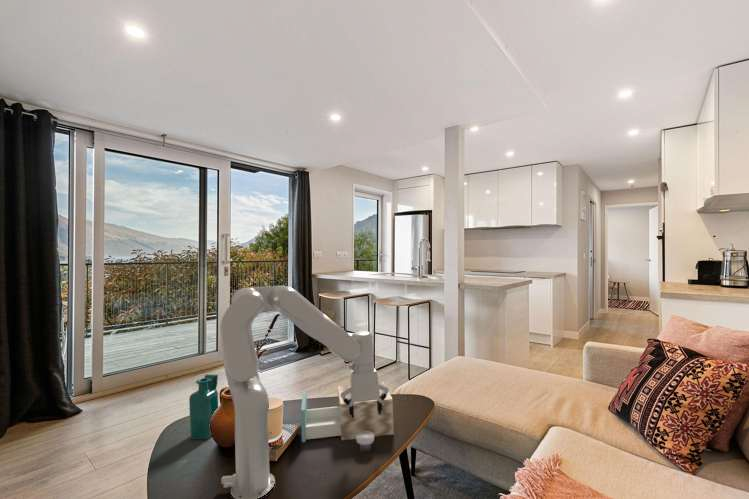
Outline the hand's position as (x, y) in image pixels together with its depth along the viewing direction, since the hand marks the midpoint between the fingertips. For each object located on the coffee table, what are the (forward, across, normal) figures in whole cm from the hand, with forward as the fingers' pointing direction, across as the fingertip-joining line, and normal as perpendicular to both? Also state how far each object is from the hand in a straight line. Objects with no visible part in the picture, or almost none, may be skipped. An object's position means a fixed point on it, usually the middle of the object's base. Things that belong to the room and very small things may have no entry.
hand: (366, 414), depth 124 cm
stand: (+12, -1, 0) cm, 12 cm away
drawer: (+11, -13, +17) cm, 24 cm away
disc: (+9, -1, 0) cm, 9 cm away
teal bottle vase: (+11, -62, +25) cm, 68 cm away
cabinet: (+12, +1, +17) cm, 21 cm away
